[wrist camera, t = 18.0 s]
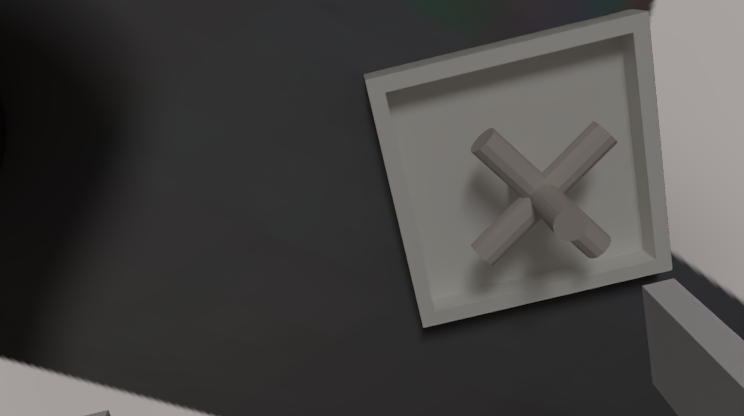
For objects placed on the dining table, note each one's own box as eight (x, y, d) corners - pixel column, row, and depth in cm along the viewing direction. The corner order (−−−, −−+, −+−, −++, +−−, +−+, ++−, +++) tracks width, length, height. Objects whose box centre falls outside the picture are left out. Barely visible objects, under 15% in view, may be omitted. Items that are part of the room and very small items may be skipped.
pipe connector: (412, 178, 44) (433, 234, 35) (521, 62, 42) (576, 87, 32) (518, 270, 47) (565, 345, 37) (626, 164, 44) (705, 215, 35)
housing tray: (419, 310, 48) (423, 328, 45) (363, 74, 42) (365, 80, 40) (655, 255, 47) (672, 269, 45) (630, 9, 42) (648, 11, 39)
